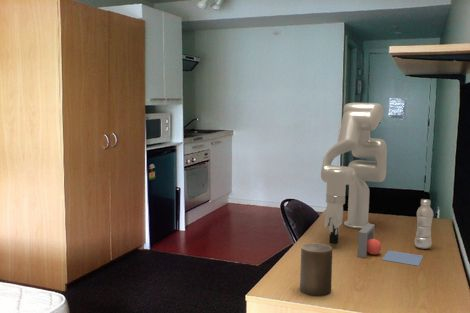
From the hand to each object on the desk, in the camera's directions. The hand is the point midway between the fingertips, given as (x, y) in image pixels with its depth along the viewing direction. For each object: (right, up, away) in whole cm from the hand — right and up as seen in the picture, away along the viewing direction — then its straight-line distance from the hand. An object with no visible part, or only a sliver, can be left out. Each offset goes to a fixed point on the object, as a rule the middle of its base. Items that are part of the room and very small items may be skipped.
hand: (333, 243), depth 192 cm
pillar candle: (-15, -7, -45) cm, 48 cm away
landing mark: (+24, -3, -12) cm, 27 cm away
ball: (+14, 0, -9) cm, 16 cm away
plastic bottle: (+37, -2, +1) cm, 37 cm away
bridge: (+11, -2, -6) cm, 13 cm away
